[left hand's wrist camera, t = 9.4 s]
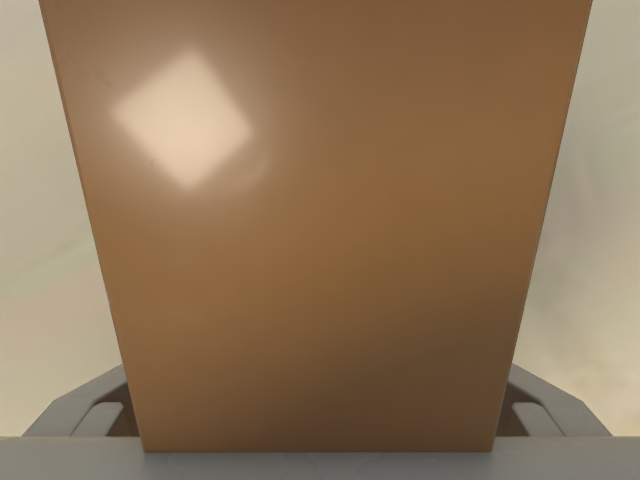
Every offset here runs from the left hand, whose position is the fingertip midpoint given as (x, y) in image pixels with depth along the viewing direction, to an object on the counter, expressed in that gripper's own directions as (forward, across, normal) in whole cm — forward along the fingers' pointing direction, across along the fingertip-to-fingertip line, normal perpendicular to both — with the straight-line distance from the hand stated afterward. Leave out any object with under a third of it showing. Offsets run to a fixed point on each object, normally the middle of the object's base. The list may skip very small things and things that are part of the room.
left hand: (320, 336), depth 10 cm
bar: (+3, 0, +9) cm, 9 cm away
